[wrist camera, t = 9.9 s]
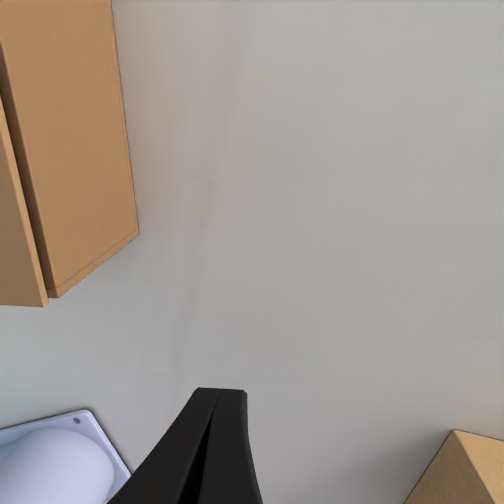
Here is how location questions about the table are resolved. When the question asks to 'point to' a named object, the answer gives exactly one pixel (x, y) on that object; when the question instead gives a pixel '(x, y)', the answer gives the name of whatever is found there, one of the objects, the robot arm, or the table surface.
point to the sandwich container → (463, 472)
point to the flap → (16, 235)
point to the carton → (67, 133)
